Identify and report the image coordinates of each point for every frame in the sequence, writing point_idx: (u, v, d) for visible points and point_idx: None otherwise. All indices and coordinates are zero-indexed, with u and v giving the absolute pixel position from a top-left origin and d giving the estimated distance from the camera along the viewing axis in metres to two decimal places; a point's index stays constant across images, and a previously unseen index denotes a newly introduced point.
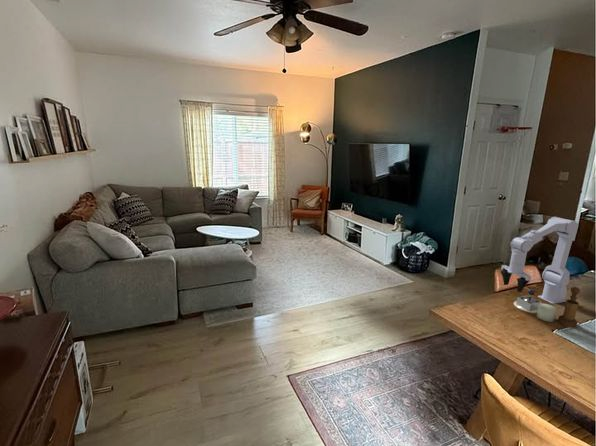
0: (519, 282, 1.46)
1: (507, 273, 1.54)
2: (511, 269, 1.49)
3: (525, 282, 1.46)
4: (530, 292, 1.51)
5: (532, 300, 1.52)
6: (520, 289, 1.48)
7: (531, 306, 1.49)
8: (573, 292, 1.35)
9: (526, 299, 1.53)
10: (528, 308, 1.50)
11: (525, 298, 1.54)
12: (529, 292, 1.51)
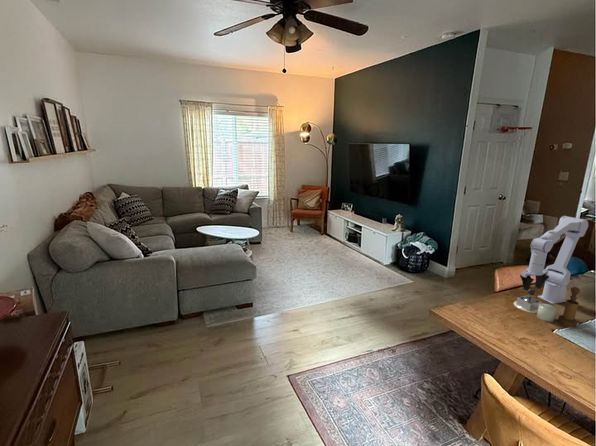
0: None
1: (539, 276, 1.51)
2: None
3: None
4: (530, 292, 1.51)
5: (532, 300, 1.52)
6: (525, 287, 1.50)
7: (531, 306, 1.49)
8: (573, 292, 1.35)
9: (526, 299, 1.53)
10: (528, 308, 1.50)
11: (525, 298, 1.54)
12: (529, 292, 1.51)
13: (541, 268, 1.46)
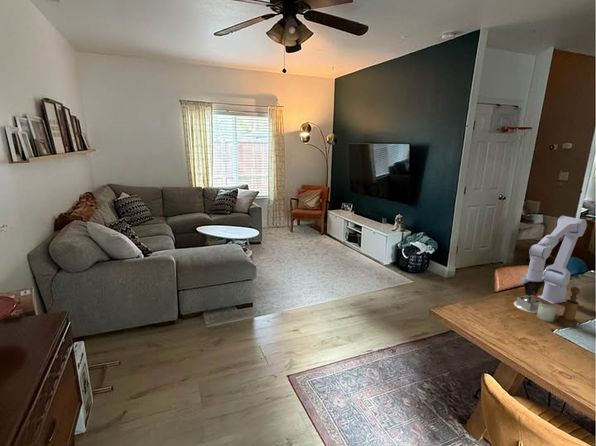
0: None
1: (534, 282, 1.51)
2: None
3: None
4: None
5: (532, 300, 1.52)
6: (527, 292, 1.51)
7: (531, 306, 1.49)
8: (573, 292, 1.35)
9: (526, 299, 1.53)
10: (528, 308, 1.50)
11: (525, 298, 1.54)
12: None
13: (540, 274, 1.46)
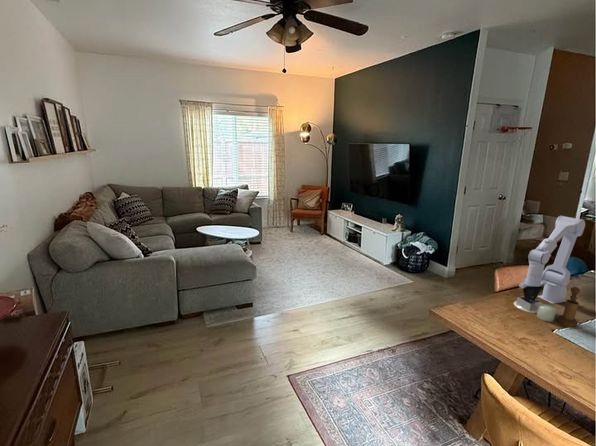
0: None
1: (533, 287, 1.52)
2: None
3: None
4: None
5: None
6: (526, 297, 1.52)
7: (531, 306, 1.49)
8: (573, 292, 1.35)
9: None
10: (528, 308, 1.50)
11: None
12: None
13: (539, 279, 1.47)
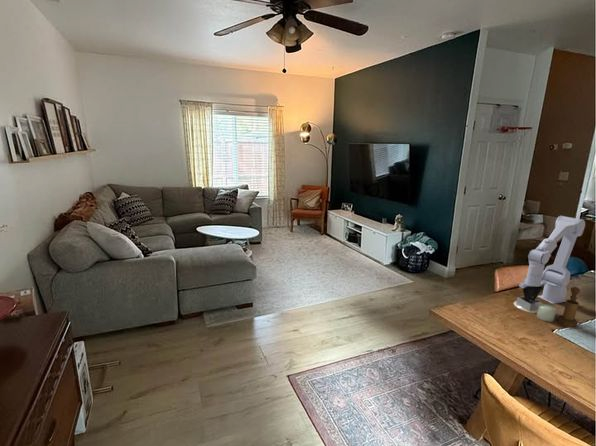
0: None
1: (533, 287, 1.52)
2: None
3: None
4: None
5: None
6: (526, 297, 1.52)
7: (531, 306, 1.49)
8: (573, 292, 1.35)
9: None
10: (528, 308, 1.50)
11: None
12: None
13: (539, 279, 1.47)
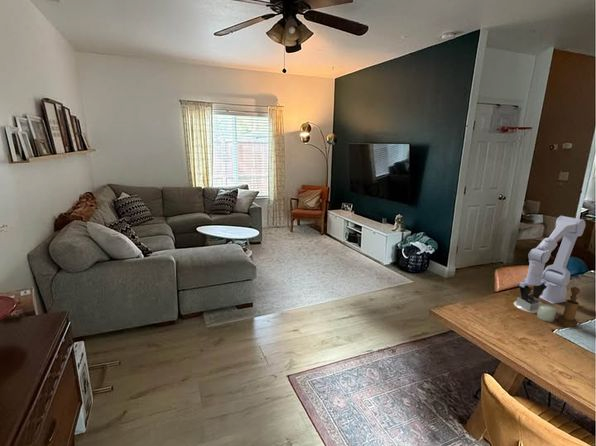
0: None
1: (537, 285, 1.52)
2: None
3: None
4: (529, 297, 1.51)
5: None
6: (523, 296, 1.51)
7: (531, 306, 1.49)
8: (573, 292, 1.35)
9: None
10: (528, 308, 1.50)
11: None
12: (528, 297, 1.52)
13: (539, 278, 1.47)
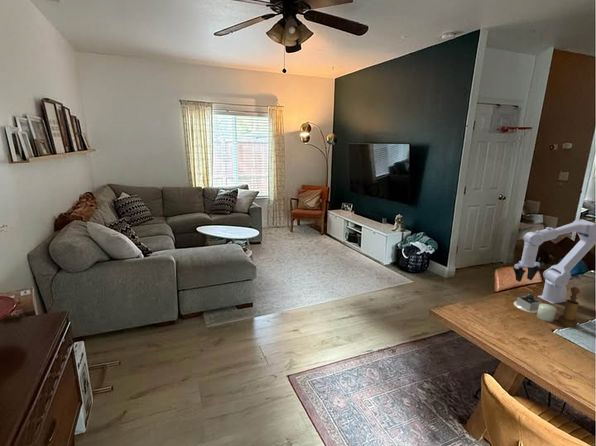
0: None
1: (531, 268, 1.60)
2: None
3: None
4: (529, 297, 1.51)
5: None
6: (517, 278, 1.59)
7: (531, 306, 1.49)
8: (573, 292, 1.35)
9: None
10: (528, 308, 1.50)
11: None
12: (528, 297, 1.52)
13: (533, 260, 1.54)
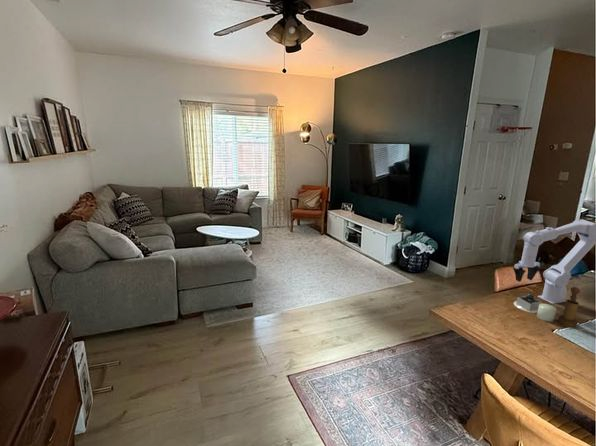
0: None
1: (531, 268, 1.60)
2: None
3: None
4: (529, 297, 1.51)
5: None
6: (517, 278, 1.59)
7: (531, 306, 1.49)
8: (573, 292, 1.35)
9: None
10: (528, 308, 1.50)
11: None
12: (528, 297, 1.52)
13: (533, 260, 1.54)
